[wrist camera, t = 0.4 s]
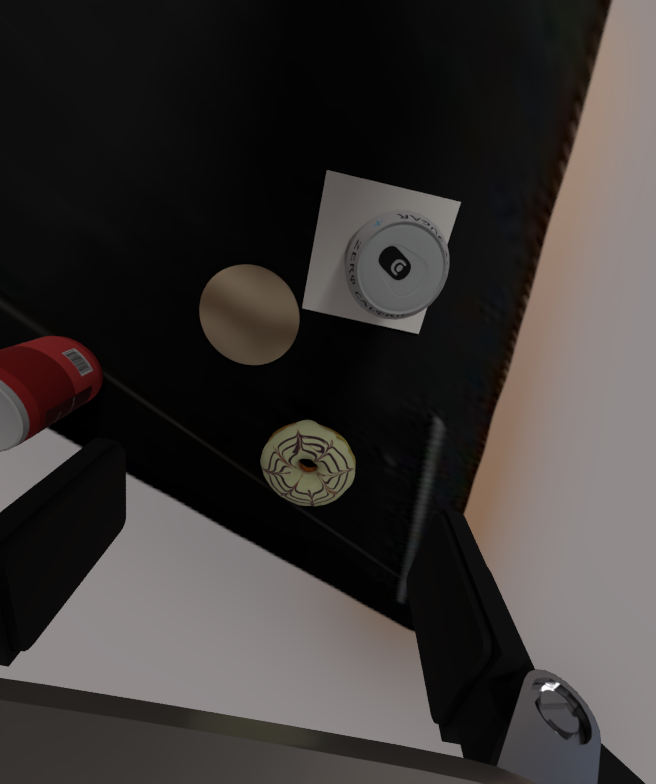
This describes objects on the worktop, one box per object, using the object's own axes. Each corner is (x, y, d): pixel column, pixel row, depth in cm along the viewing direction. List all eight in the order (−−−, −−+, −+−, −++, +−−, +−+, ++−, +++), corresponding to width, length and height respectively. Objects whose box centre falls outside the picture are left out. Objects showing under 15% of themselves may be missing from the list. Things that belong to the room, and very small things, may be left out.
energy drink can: (375, 304, 34) (398, 346, 20) (330, 260, 33) (322, 273, 19) (422, 256, 32) (482, 267, 19) (377, 207, 31) (405, 178, 17)
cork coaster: (205, 253, 33) (202, 254, 33) (307, 277, 34) (307, 277, 33) (198, 352, 37) (196, 354, 37) (290, 371, 38) (290, 373, 37)
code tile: (326, 170, 30) (326, 169, 30) (459, 202, 31) (460, 202, 31) (302, 307, 35) (301, 308, 35) (417, 333, 36) (418, 334, 35)
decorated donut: (301, 397, 39) (297, 412, 36) (372, 451, 42) (375, 470, 38) (249, 457, 42) (240, 476, 39) (317, 503, 45) (315, 525, 41)
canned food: (34, 322, 37) (-84, 353, 27) (110, 349, 38) (24, 389, 27) (31, 385, 40) (-75, 434, 29) (102, 409, 40) (22, 464, 30)
